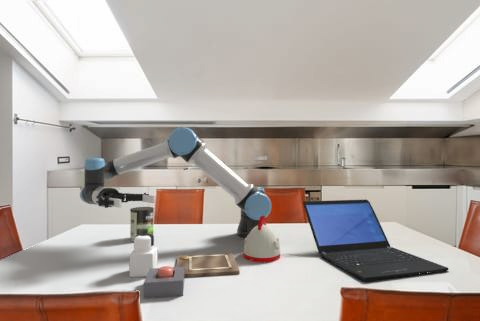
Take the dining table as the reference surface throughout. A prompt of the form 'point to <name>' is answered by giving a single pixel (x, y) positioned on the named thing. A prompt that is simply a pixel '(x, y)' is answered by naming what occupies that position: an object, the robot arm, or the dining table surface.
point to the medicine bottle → (142, 256)
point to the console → (164, 284)
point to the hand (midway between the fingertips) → (138, 201)
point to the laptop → (360, 241)
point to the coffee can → (141, 221)
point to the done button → (165, 272)
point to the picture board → (208, 265)
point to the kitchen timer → (261, 244)
